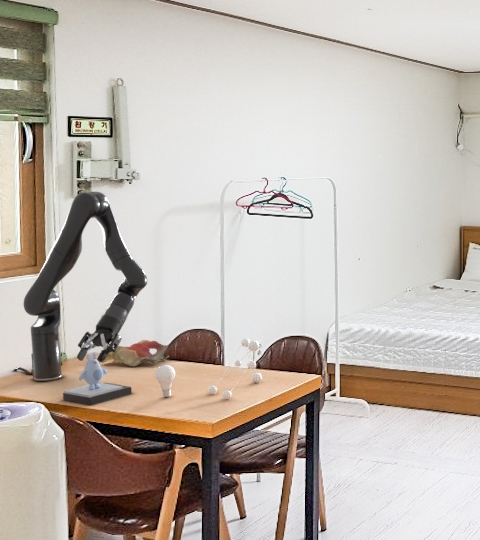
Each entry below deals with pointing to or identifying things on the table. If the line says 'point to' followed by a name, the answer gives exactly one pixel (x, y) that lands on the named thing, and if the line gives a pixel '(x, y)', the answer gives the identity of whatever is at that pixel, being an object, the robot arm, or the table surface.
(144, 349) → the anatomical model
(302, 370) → the table surface
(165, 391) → the lightbulb
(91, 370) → the toy figure
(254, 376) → the molecule model
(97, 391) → the scale
